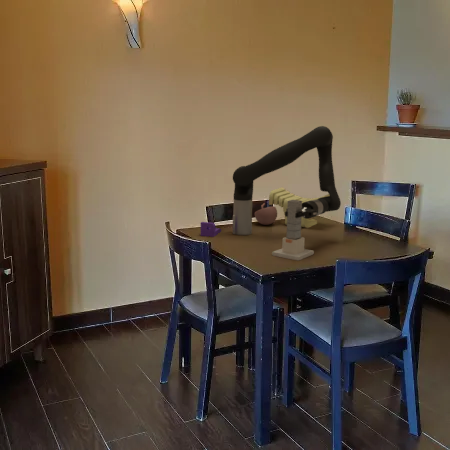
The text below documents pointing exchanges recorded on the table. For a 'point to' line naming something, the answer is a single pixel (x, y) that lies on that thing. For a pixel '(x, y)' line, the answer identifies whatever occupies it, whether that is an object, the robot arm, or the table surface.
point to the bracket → (209, 229)
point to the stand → (293, 249)
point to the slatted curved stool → (282, 198)
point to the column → (293, 219)
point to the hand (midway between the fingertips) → (291, 214)
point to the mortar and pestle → (266, 215)
